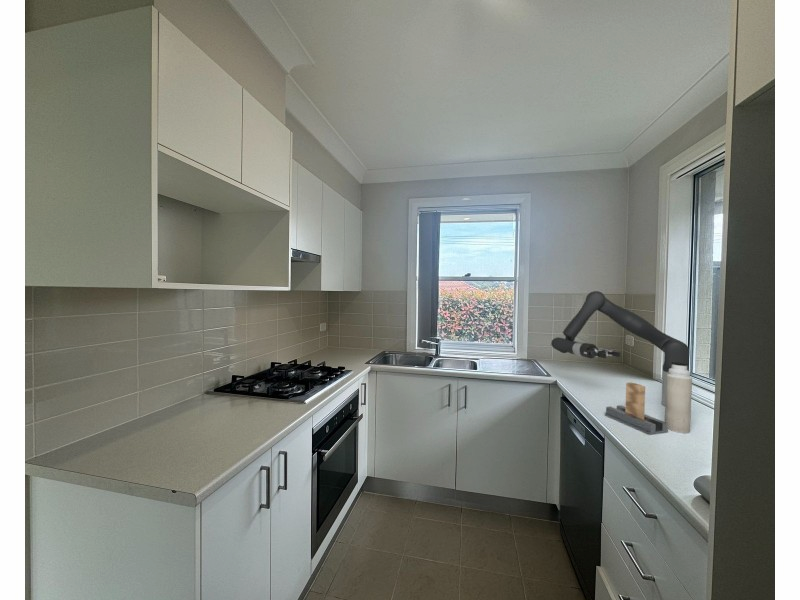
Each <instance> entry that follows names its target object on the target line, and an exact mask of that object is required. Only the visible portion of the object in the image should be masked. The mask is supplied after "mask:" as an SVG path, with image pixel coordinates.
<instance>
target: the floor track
mask: <svg viewBox="0 0 800 600" xmlns="http://www.w3.org/2000/svg"><path fill="white" fill-rule="evenodd" d="M604 416H605V417H608V418H610V419H612V420H614V421H616V422H618V423H621V424H624V425H625V426H628V427H630V428H632V429H634V430H637V431H639V432H641V433H644V434H646V435H648V436H651V435H660V434H667V433H669V429H667V423H666V422H665V420H661V419H658V418H656V417H653V416H650V415H647V414H646V413H644V420H643V419H641V418H638V417H636V416H633V415H631V414H628V413H626V412H625V405H622V404H621V405H620V404H619V405H616V408H615V407H613V406H612V405H611V406H606V407H605V413H604Z"/></svg>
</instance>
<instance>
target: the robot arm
mask: <svg viewBox="0 0 800 600" xmlns="http://www.w3.org/2000/svg"><path fill="white" fill-rule="evenodd" d="M597 311H598V312H600V313H601V314H604V315H606V316H607V317H609V318H610V319H611V320H612V321H614V322H615V323H616V324H617V325H619V326H620V327H622V328H623V329H624V330H627V331H628V332H630V333H631V334H633V335H635V336H637V337H638V338H641V339H642V340H645V341H647V342H649V343H651V344H652V345H654V346H655V347H656V348H658V349H659V350H660V351H662V352H663V353H664V356H663V357H664V358H663V364H662V374H661V376H662V377H661V380H662V382H661V401H660V402H661V405H662V406H664V407H665V399H666V374H668V373H669V372H668V371H669V369H670V368H672V363H671V362H673V361H676V362H684V363H687V370H688V369H689V367H690V366H689V365H690V348H689V346H688V345H687V344H686V343H684V341H681V340H679V339H677V338H674V337H673V336H670V335H668V334H666V333H664V332H662V331H661V330H659V329H658V328H657V327H655V326H654V325H653V324H652V323H651V322H649V321H648V320H646V319H644V318H643V317H642V316H640V315H639V314H636V313H635V312H633V311H632V310H628V309H627V308H624V307H621V306H619V305H617V304H616V303H614V302H612V301H611V300H609V299H608V298H607V297H606V295H605V294H604V293H603V292H601V291H597V290H594V291H590V292H589V293H588V294H587V295H586V297H585V300H584V302H583V304H582V306H581V308H580V310H578V312H577V313H576V314H575V316H574V317H573V318H572V319H571V320H570V321H569V323H568V324H567V325H566V327H565V328H564V329H563V331H562V334H563V335H564V336H565V337H564V338H563V337H555V338H553V339H552V340H551V343H550V345H551V346H552V349H554V350H557V352H560V353H562V354H566V353H569V354H572V355H575V356H578V357H582V358H587V359H594V358H602V359H607V357H608V356H609V357H617V358H620V357H621V352H619V351H616V350H615V349H611V348H601V347H597V346H596V345H595V344H594V343H591V342H590V343H589V342H584V341H583V342H581V341H575V339H576V337H577V336H578V334H580V332H581V331H582V329H584V327H585V325H586V323H587V322H588V321H589V319H590V318H591V317H592V315H594V314H595V312H597Z"/></svg>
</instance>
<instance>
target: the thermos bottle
mask: <svg viewBox="0 0 800 600" xmlns="http://www.w3.org/2000/svg"><path fill="white" fill-rule="evenodd" d="M671 363H672V368H670V369H669V371H668V372H669V373H668V374H666V399H665V406H664V408H665V409H664V422H666V423H667V430H668V431H669V430H670V431H672V432H675V433H680V434H689V432H690V433H691V420H692V419H691V416H692V415H691V413H692V409H691V407H692V393H693V391H692V389H693V388H692V387H693V377H692V376H691V372H690V370H688V369H687V363H684V362H676V361H673V362H671Z"/></svg>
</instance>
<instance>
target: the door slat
mask: <svg viewBox="0 0 800 600" xmlns="http://www.w3.org/2000/svg"><path fill="white" fill-rule="evenodd" d="M645 404H646V386H645V385H642V384H638V383H635V382H631V381H630V382H625V405H624V407H625V412H626V413H628V414H631V415H633V416H636V417H638V418H641V419H643V420H644V414H645V410H646V409H645V408H646V407H645V406H646V405H645Z"/></svg>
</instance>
